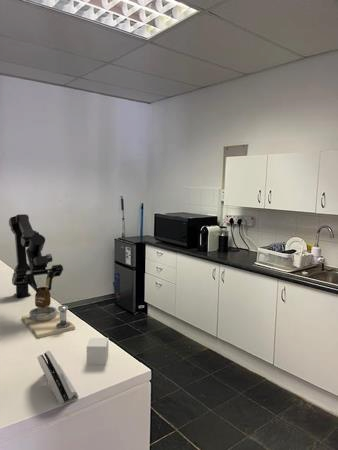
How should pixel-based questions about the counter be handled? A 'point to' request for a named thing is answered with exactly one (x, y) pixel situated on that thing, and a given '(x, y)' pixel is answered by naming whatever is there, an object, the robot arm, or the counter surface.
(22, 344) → the counter surface
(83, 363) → the counter surface
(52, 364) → the grey electronic device
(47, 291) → the utensil holder
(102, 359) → the grey cube
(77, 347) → the counter surface
